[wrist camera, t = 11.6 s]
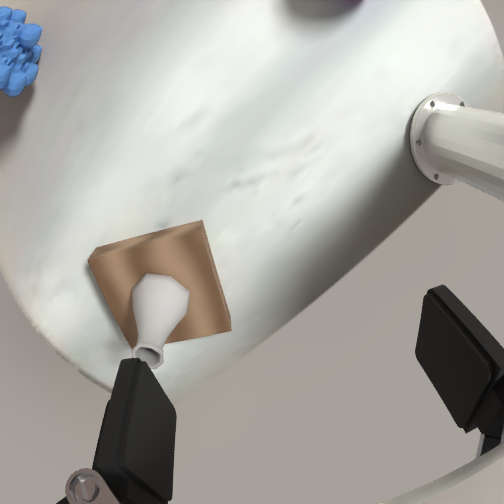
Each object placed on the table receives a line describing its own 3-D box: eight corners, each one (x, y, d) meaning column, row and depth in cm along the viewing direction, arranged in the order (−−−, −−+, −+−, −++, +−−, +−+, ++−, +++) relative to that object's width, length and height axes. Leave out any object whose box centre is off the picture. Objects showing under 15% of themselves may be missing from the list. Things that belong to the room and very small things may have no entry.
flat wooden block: (202, 218, 37) (201, 231, 34) (229, 312, 44) (231, 330, 40) (97, 245, 37) (87, 260, 34) (136, 330, 43) (131, 349, 40)
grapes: (75, 78, 27) (19, 73, 17) (30, 103, 28) (-33, 111, 17) (59, -1, 22) (7, -28, 11) (15, 26, 22) (-44, 13, 12)
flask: (177, 330, 39) (170, 390, 30) (124, 309, 37) (104, 366, 28) (200, 287, 37) (196, 345, 28) (142, 262, 35) (120, 316, 26)
